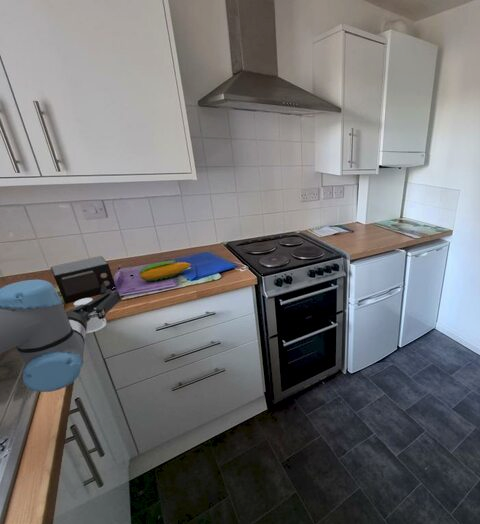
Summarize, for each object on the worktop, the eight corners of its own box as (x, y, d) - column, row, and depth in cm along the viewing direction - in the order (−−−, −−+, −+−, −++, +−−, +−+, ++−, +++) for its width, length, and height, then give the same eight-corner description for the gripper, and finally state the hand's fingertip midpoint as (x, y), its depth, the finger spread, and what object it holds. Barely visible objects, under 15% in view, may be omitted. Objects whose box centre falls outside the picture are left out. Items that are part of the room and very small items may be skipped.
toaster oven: (61, 293, 120) (49, 266, 115) (110, 280, 130) (101, 255, 126) (65, 304, 112) (53, 276, 107) (117, 290, 122) (108, 263, 118)
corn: (135, 264, 128) (186, 253, 140) (140, 279, 131) (189, 268, 143) (138, 270, 123) (191, 259, 135) (143, 286, 126) (194, 274, 138)
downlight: (72, 335, 94) (61, 308, 91) (85, 323, 101) (74, 297, 97) (101, 332, 96) (91, 305, 92) (112, 320, 102) (103, 294, 99)
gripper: (-15, 372, 58) (12, 322, 74) (137, 328, 72) (132, 293, 88) (-34, 341, 56) (-2, 295, 71) (128, 301, 69) (125, 270, 85)
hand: (72, 294), depth 80 cm, fingers open, 13 cm apart
